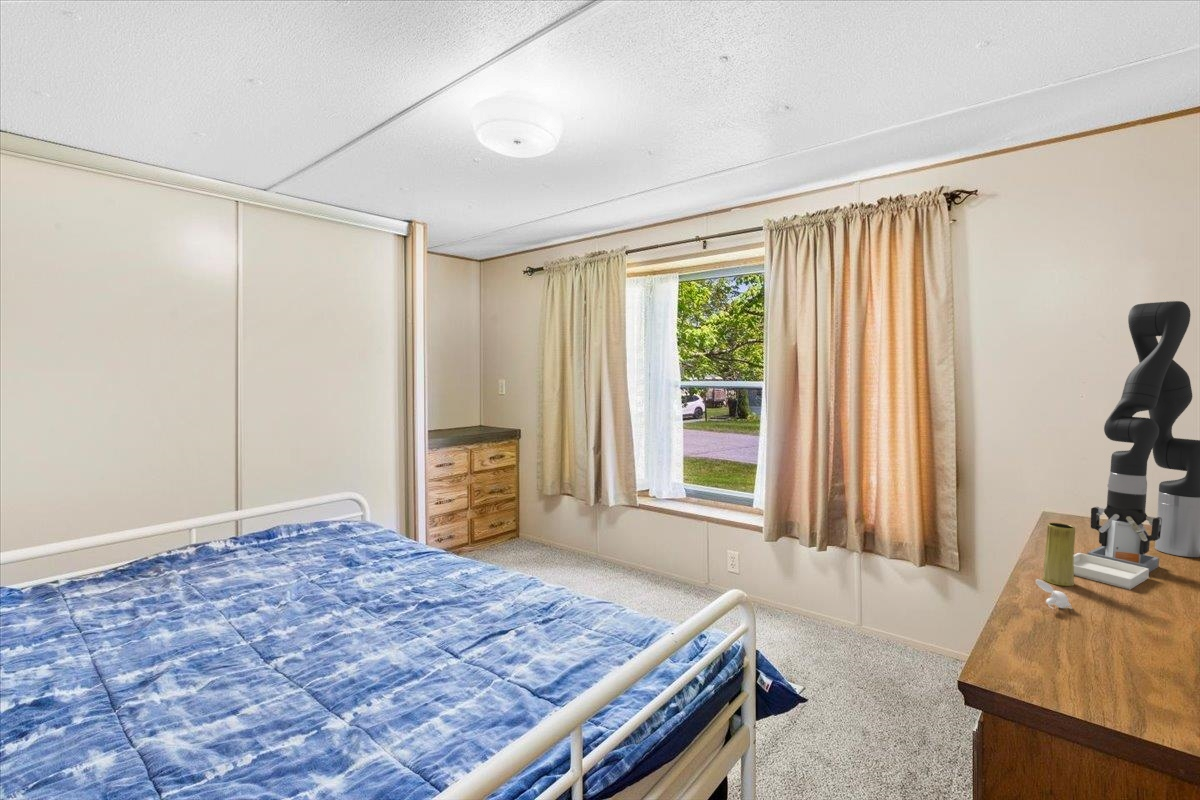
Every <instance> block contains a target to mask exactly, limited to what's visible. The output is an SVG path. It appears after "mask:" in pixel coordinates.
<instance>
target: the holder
mask: <svg viewBox="0 0 1200 800" xmlns="http://www.w3.org/2000/svg"><path fill="white" fill-rule="evenodd" d="M1105 552H1106V547H1104V546H1102V545H1101V546H1099V547H1097V548H1094V549H1092V550H1090V551H1088V552H1087V555H1092V556H1096V557H1100V558H1105V559H1109V560H1113V561H1118V562H1122V563H1127V564H1131V565H1135V566H1140V567H1144V568H1148V569H1149V573H1151V572H1152V571H1154V570H1156V569H1157V568H1159V567H1160V565H1159V564H1160V557H1159V556H1158V557H1157V556H1154V555H1148V554H1144V555H1142V554H1141V559H1140V563H1135V562H1131V561H1126V560H1122V559H1117V558H1113V557H1109V556H1105Z"/></svg>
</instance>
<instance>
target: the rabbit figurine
mask: <svg viewBox="0 0 1200 800" xmlns="http://www.w3.org/2000/svg"><path fill="white" fill-rule="evenodd" d="M1035 583H1036V586H1038V587H1039V588H1040V589H1041V590H1043V591H1044V592H1046V593H1049V594H1051V595H1050V596H1049V597H1048V598H1046V599H1045V603H1046V605H1048V607H1049V608H1050V609H1052V610H1054V607H1053V606H1051V605H1055V606H1056V607H1057V608H1060V609H1067V608H1069V610H1073V606H1071V603H1070V601H1069V598H1068V596H1067V594H1066V593H1064V592H1062V591H1059V590H1054V587H1053V586H1051V585H1050V583H1048V582H1046V581H1043V579H1035Z"/></svg>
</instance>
